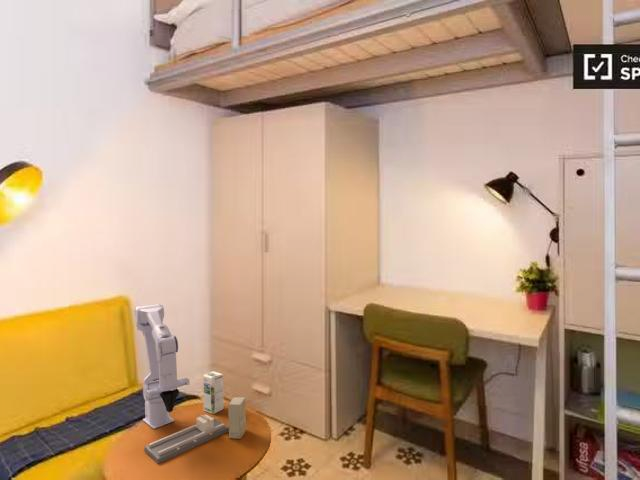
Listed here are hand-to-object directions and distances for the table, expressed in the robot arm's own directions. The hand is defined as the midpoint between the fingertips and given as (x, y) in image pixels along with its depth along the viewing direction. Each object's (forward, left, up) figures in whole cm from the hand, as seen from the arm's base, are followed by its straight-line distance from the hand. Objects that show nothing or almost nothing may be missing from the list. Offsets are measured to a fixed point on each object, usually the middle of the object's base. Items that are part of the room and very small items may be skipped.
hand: (169, 410), depth 142 cm
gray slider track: (+5, +4, -10) cm, 12 cm away
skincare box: (+14, +18, -11) cm, 25 cm away
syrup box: (-8, +22, -11) cm, 26 cm away
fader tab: (+5, +10, -9) cm, 14 cm away
